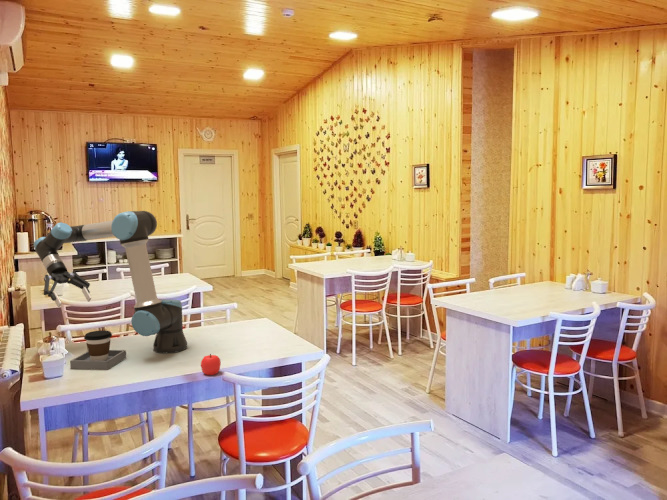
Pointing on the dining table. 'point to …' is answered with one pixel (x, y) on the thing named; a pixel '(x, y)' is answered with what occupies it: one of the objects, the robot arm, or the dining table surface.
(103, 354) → the coffee cup
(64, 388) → the dining table surface
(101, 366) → the holder tray
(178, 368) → the dining table surface
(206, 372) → the apple
